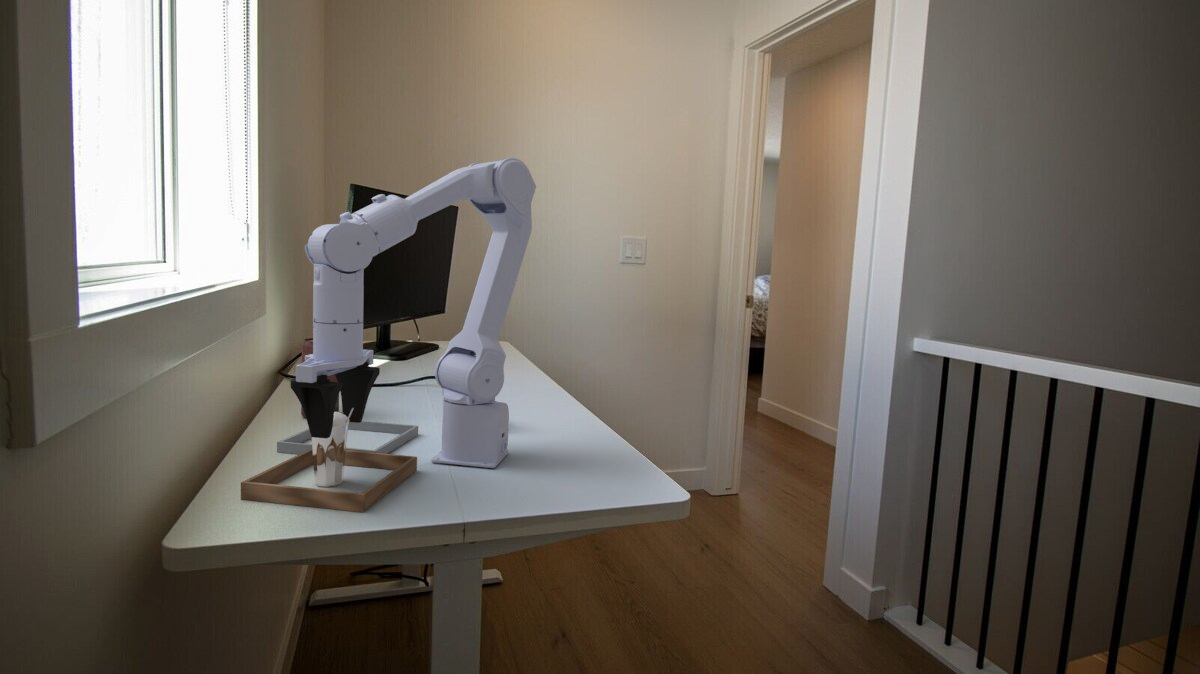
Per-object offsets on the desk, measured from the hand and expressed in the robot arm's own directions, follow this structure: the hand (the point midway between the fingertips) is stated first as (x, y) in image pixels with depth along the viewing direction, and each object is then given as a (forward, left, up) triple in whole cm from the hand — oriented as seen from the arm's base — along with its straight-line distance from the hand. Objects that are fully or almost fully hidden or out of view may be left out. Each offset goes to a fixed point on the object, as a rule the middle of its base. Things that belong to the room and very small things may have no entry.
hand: (337, 429), depth 77 cm
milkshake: (+1, 0, -7) cm, 7 cm away
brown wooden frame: (0, 0, -7) cm, 7 cm away
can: (+20, -30, -7) cm, 37 cm away
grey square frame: (+7, -17, -7) cm, 20 cm away
